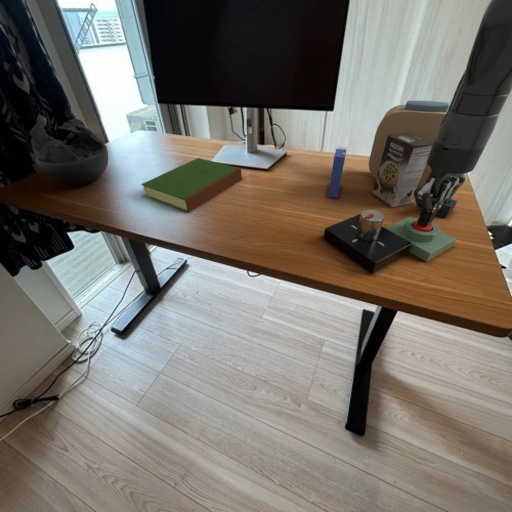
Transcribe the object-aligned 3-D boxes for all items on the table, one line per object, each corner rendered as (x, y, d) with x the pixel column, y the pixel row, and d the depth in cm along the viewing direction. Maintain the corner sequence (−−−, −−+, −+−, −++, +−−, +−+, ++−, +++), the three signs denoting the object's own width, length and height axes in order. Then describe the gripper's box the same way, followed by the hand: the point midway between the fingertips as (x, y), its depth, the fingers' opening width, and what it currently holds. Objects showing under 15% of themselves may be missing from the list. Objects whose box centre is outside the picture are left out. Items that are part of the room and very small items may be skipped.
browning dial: (365, 227, 60) (370, 206, 56) (382, 236, 57) (389, 214, 53) (351, 234, 58) (356, 212, 54) (368, 244, 55) (375, 222, 52)
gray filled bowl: (129, 178, 92) (107, 118, 80) (70, 202, 80) (34, 135, 68) (98, 166, 102) (75, 110, 90) (41, 185, 90) (6, 125, 78)
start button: (433, 232, 58) (436, 225, 57) (422, 238, 57) (425, 231, 55) (417, 224, 60) (420, 218, 59) (407, 229, 59) (410, 223, 58)
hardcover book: (188, 212, 73) (186, 200, 71) (144, 195, 82) (141, 184, 79) (243, 178, 89) (242, 167, 86) (201, 167, 97) (199, 157, 95)
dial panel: (407, 254, 57) (413, 242, 55) (371, 274, 53) (375, 262, 51) (357, 224, 66) (359, 213, 64) (323, 238, 62) (324, 227, 60)
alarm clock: (439, 180, 83) (473, 100, 69) (439, 193, 76) (476, 108, 62) (369, 170, 90) (387, 96, 76) (364, 181, 84) (382, 103, 70)
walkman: (337, 198, 76) (345, 155, 69) (327, 196, 77) (334, 154, 69) (340, 186, 82) (347, 145, 74) (330, 185, 83) (337, 145, 75)
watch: (454, 209, 70) (475, 167, 63) (442, 221, 66) (463, 178, 59) (432, 201, 73) (449, 161, 66) (419, 212, 69) (436, 171, 62)
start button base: (451, 247, 58) (460, 231, 56) (426, 262, 55) (434, 246, 52) (406, 223, 65) (412, 209, 63) (381, 235, 62) (386, 221, 60)
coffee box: (370, 193, 78) (386, 134, 68) (389, 189, 79) (407, 131, 69) (391, 208, 71) (412, 145, 61) (412, 203, 73) (435, 141, 62)
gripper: (460, 128, 51) (426, 207, 62) (416, 141, 46) (387, 225, 57) (504, 138, 46) (458, 222, 57) (460, 154, 41) (419, 243, 52)
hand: (423, 224), depth 57 cm, fingers closed
